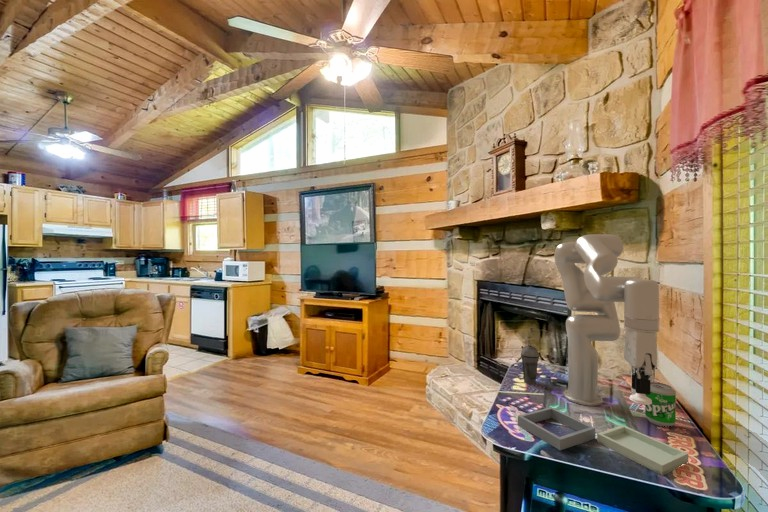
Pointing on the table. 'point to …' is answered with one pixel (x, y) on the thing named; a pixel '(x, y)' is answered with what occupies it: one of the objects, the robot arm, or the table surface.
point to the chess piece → (640, 398)
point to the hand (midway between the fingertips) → (640, 390)
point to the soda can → (661, 405)
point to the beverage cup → (529, 363)
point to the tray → (643, 449)
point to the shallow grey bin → (563, 442)
